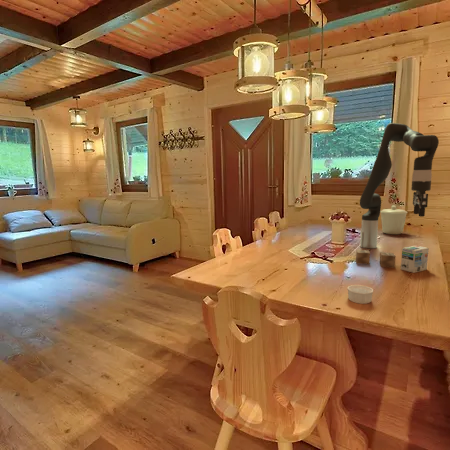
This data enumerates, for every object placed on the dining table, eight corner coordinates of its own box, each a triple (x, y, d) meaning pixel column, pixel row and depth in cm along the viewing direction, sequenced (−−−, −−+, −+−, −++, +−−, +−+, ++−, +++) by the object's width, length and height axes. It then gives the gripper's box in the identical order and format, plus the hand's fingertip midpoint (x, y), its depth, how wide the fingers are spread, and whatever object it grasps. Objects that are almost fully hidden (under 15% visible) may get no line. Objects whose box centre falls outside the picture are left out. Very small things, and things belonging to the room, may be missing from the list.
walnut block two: (356, 263, 162) (357, 252, 161) (355, 260, 167) (356, 249, 166) (369, 264, 160) (370, 252, 159) (368, 261, 165) (368, 249, 164)
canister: (373, 231, 244) (375, 204, 240) (395, 230, 246) (397, 204, 242) (388, 236, 226) (390, 207, 223) (411, 235, 228) (413, 206, 225)
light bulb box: (413, 273, 145) (415, 250, 143) (399, 269, 151) (401, 247, 149) (427, 269, 150) (429, 247, 148) (413, 266, 156) (415, 245, 154)
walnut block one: (381, 266, 155) (382, 254, 154) (379, 263, 161) (380, 251, 160) (394, 267, 154) (395, 255, 153) (392, 264, 159) (393, 252, 158)
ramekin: (346, 302, 114) (347, 291, 113) (346, 294, 122) (347, 283, 122) (373, 306, 111) (374, 294, 110) (371, 296, 119) (372, 286, 118)
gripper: (408, 179, 151) (406, 213, 154) (416, 180, 138) (413, 217, 140) (426, 179, 149) (423, 213, 151) (436, 180, 135) (433, 217, 138)
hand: (418, 215), depth 146 cm, fingers open, 8 cm apart
